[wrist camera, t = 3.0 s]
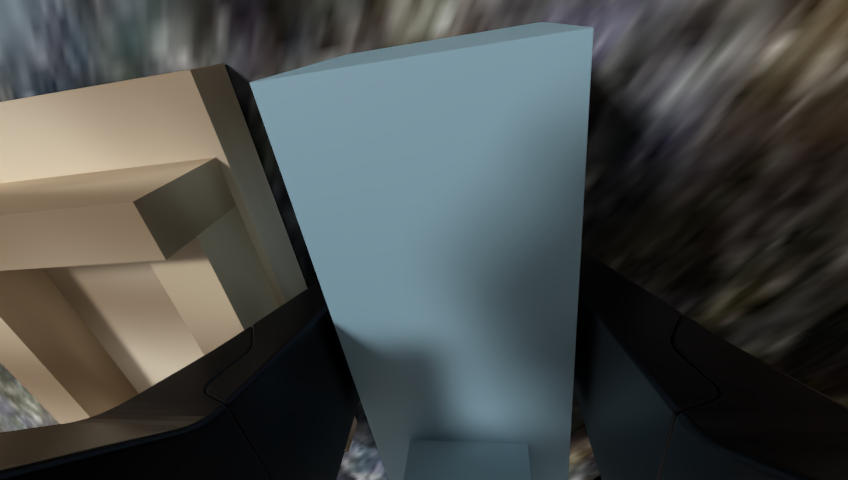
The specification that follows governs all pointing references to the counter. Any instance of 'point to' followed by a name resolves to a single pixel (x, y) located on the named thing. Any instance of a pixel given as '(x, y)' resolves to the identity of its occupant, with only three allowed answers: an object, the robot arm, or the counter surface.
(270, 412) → the robot arm
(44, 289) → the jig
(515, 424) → the blue stepped block
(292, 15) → the counter surface
